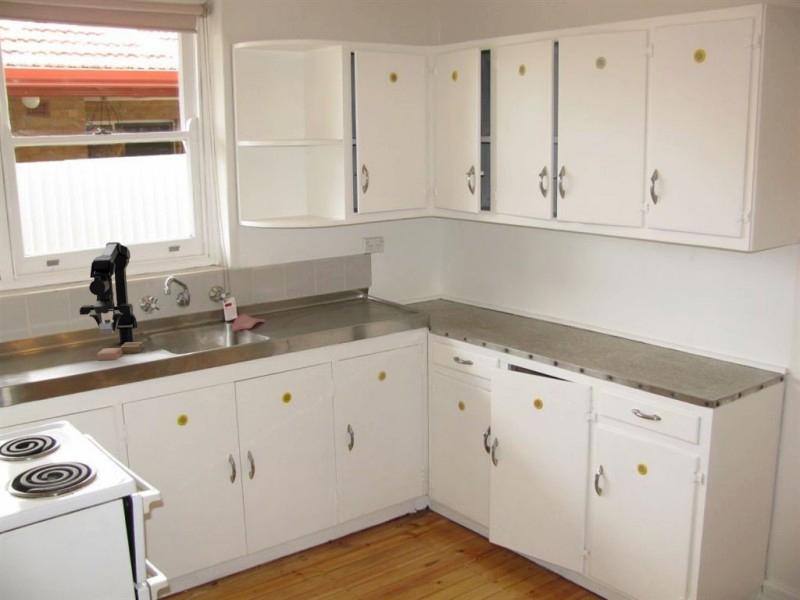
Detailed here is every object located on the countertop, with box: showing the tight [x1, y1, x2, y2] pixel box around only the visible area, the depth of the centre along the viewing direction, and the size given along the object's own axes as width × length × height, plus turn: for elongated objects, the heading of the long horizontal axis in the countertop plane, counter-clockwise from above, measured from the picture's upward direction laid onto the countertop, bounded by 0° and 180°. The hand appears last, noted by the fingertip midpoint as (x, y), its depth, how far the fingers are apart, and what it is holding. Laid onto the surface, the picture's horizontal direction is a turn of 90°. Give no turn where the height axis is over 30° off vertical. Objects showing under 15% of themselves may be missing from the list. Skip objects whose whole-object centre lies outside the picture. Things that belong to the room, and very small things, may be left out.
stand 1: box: [97, 347, 123, 361], centre depth 324 cm, size 9×7×2 cm
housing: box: [98, 318, 118, 335], centre depth 323 cm, size 7×4×5 cm, turn 5°
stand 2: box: [119, 341, 145, 354], centre depth 335 cm, size 9×7×2 cm
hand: (108, 331), depth 323 cm, fingers closed on housing, 4 cm apart
